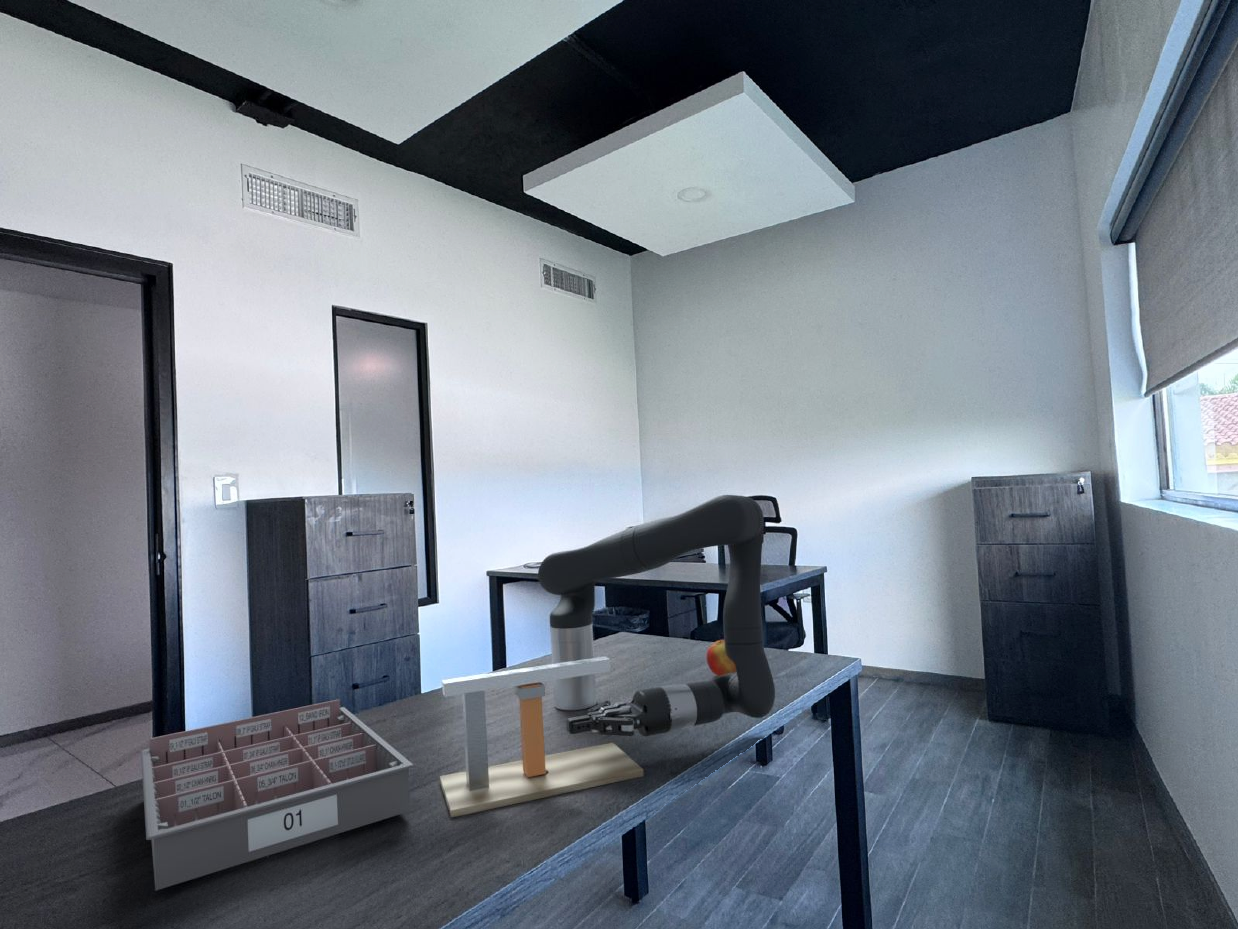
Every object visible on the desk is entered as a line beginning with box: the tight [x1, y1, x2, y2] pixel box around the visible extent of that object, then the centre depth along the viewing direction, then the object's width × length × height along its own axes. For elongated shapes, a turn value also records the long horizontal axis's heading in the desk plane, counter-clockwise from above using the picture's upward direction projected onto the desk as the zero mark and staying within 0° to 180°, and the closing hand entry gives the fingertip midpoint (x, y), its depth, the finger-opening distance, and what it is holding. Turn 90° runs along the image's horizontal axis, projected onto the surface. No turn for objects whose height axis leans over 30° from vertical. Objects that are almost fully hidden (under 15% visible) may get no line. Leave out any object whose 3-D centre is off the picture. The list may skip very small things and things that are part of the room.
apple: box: [706, 634, 737, 677], centre depth 168 cm, size 8×8×10 cm
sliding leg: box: [514, 682, 546, 777], centre depth 112 cm, size 4×4×14 cm
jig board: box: [439, 742, 645, 818], centre depth 112 cm, size 14×30×1 cm, turn 111°
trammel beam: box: [441, 656, 611, 791], centre depth 112 cm, size 3×27×17 cm, turn 111°
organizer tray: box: [140, 699, 415, 892], centre depth 108 cm, size 32×40×10 cm
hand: (567, 726), depth 114 cm, fingers closed
